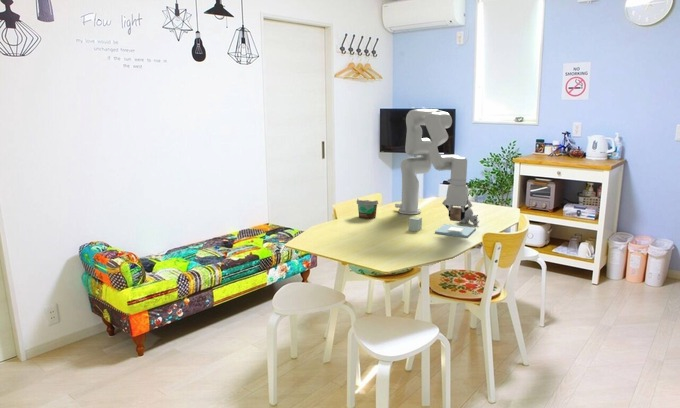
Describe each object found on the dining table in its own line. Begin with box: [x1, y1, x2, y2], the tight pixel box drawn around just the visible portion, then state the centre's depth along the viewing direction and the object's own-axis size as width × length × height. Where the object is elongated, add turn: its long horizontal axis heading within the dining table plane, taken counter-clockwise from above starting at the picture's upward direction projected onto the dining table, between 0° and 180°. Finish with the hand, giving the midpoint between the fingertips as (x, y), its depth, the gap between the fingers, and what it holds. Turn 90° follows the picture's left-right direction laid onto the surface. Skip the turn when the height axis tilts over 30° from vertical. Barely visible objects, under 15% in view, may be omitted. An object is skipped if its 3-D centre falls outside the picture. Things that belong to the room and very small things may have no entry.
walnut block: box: [449, 206, 462, 223], centre depth 247 cm, size 5×5×6 cm
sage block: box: [408, 215, 423, 232], centre depth 252 cm, size 5×5×6 cm
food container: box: [356, 199, 379, 220], centre depth 274 cm, size 12×6×10 cm, turn 68°
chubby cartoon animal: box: [460, 206, 480, 226], centre depth 263 cm, size 7×12×8 cm, turn 43°
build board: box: [434, 223, 477, 239], centre depth 249 cm, size 16×16×1 cm
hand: (456, 218), depth 247 cm, fingers closed on walnut block, 5 cm apart
